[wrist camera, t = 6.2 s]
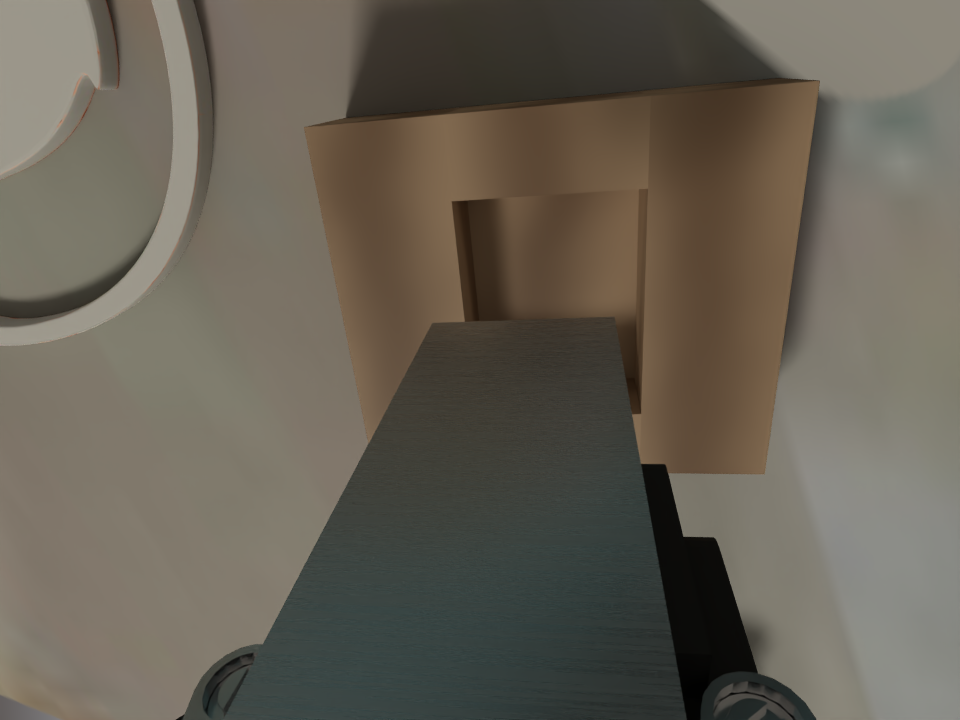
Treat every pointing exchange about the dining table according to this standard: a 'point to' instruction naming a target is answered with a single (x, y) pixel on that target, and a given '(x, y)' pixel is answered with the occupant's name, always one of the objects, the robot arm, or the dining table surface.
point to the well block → (585, 243)
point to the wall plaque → (61, 106)
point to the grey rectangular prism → (484, 549)
